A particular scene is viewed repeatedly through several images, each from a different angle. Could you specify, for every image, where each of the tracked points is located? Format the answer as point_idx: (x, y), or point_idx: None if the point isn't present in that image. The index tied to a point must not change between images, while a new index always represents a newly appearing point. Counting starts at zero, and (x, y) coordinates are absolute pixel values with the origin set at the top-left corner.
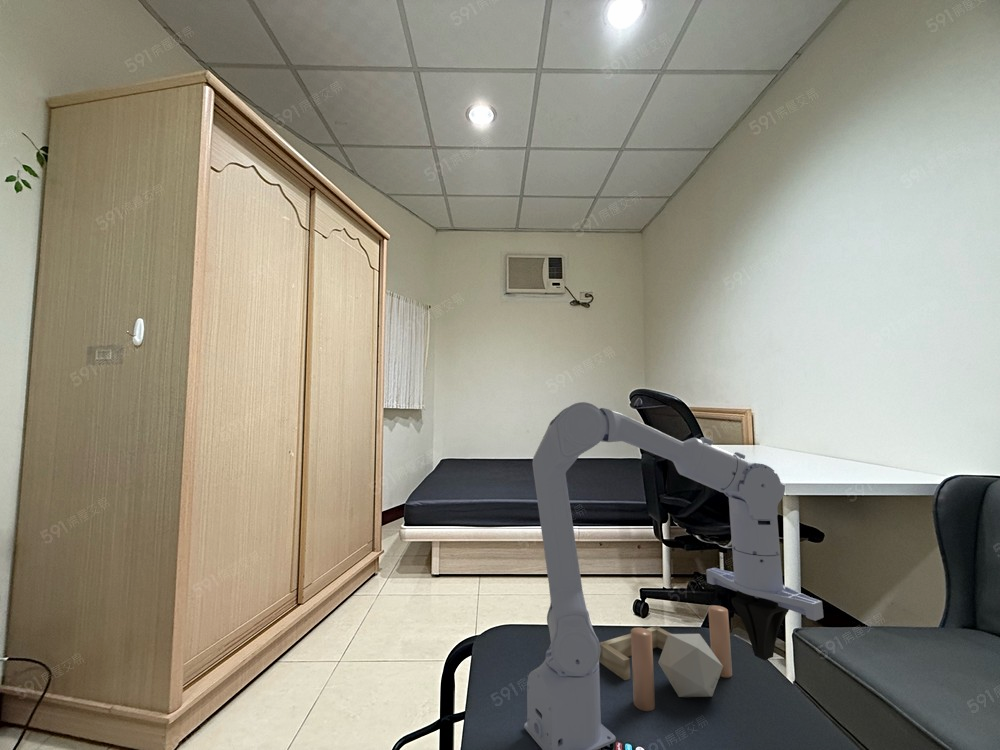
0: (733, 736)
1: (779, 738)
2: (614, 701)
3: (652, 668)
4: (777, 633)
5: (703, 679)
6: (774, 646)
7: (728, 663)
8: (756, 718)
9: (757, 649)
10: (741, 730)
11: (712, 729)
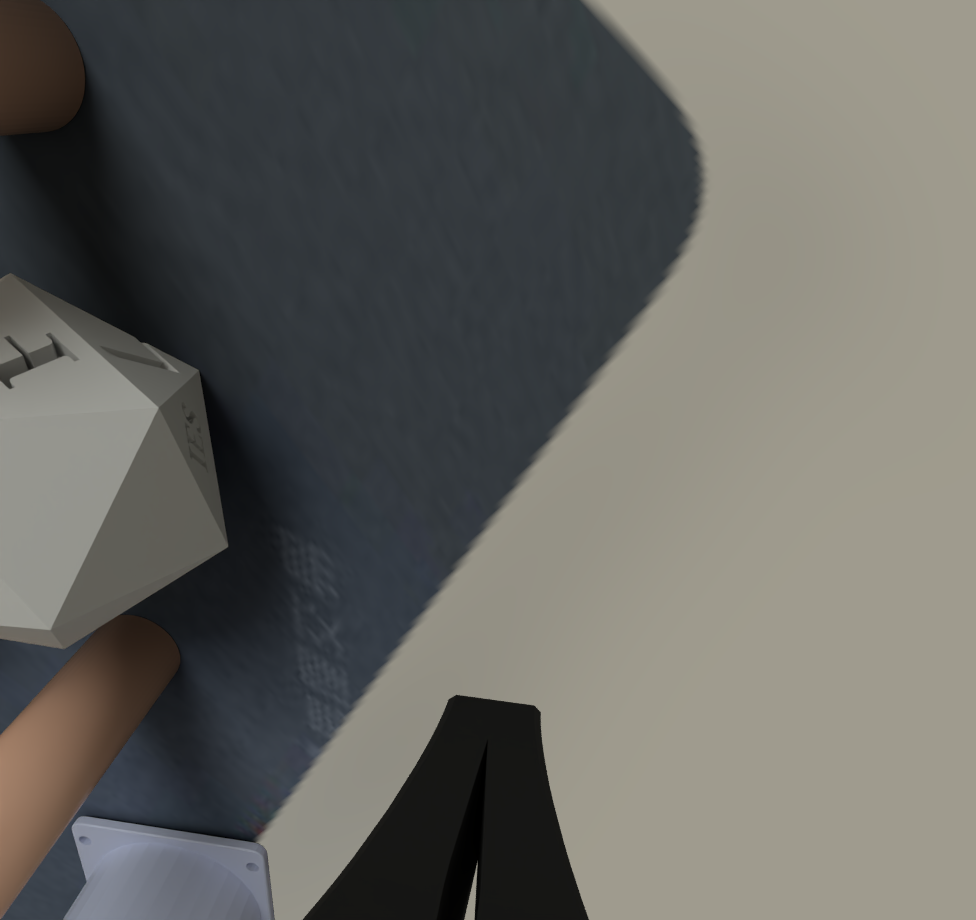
0: (433, 551)
1: (550, 408)
2: None
3: (78, 770)
4: (575, 886)
5: (194, 558)
6: (546, 770)
7: (25, 77)
8: (413, 352)
9: (476, 864)
10: (428, 492)
11: (364, 577)
